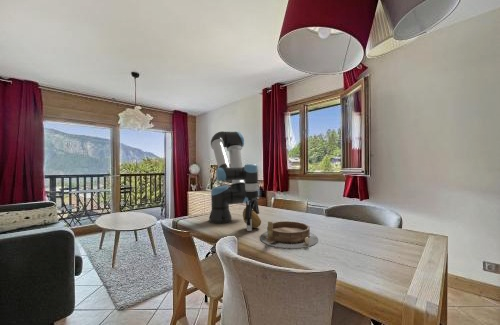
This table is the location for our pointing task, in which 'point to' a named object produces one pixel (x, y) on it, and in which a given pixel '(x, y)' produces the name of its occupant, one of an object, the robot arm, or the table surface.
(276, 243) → the base
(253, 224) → the potato
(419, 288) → the table surface
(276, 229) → the brown round shallow piece
